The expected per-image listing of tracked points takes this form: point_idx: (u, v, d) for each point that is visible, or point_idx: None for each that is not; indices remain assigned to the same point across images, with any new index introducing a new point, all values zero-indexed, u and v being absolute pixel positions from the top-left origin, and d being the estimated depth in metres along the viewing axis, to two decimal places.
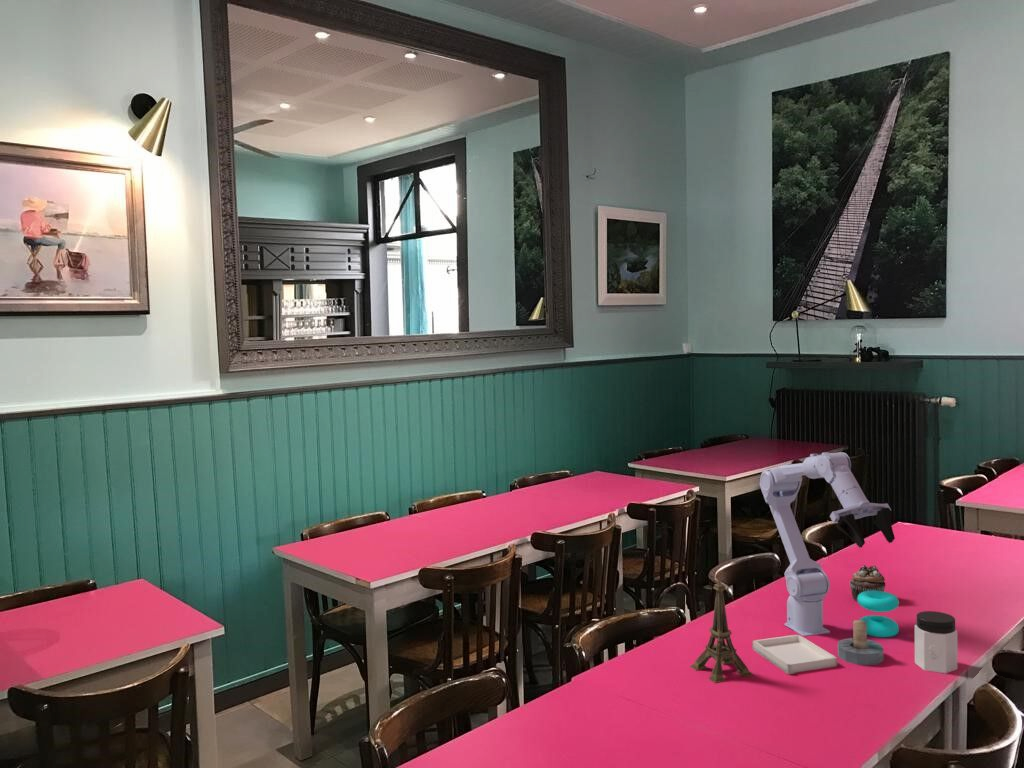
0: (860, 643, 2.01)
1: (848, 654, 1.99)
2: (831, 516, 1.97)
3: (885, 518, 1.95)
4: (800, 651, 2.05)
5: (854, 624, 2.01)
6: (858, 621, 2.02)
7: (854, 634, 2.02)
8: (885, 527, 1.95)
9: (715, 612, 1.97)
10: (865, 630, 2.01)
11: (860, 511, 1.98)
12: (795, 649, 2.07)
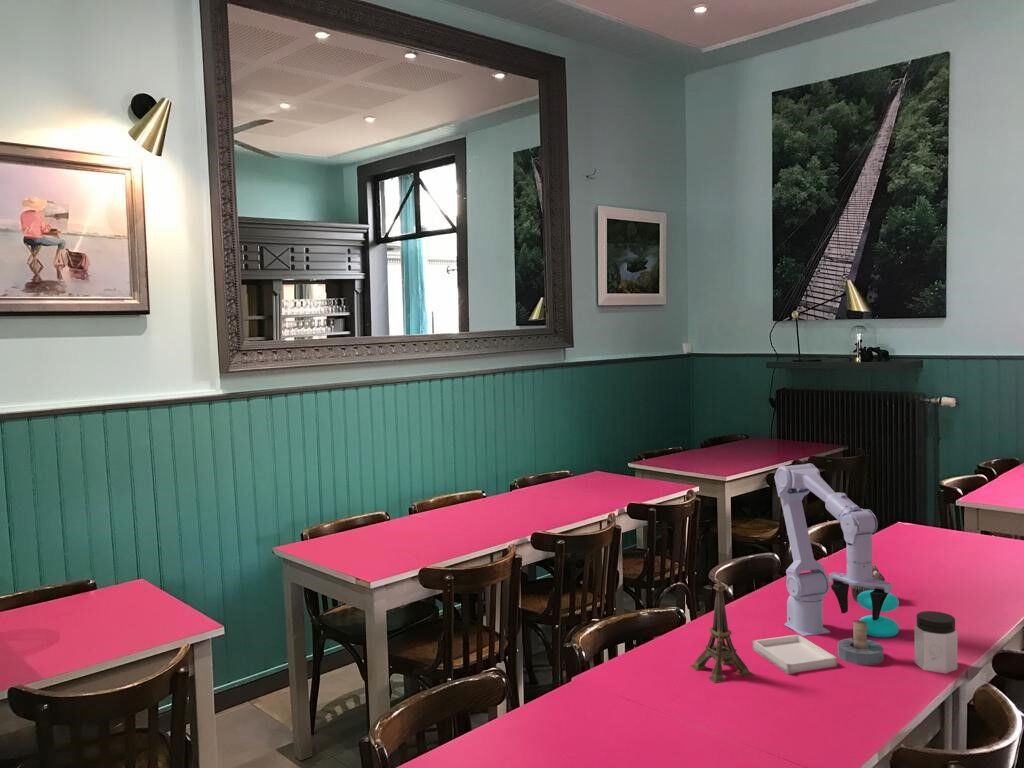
0: (860, 643, 2.01)
1: (848, 654, 1.99)
2: None
3: (872, 601, 1.97)
4: (800, 651, 2.05)
5: (854, 624, 2.01)
6: (858, 621, 2.02)
7: (854, 634, 2.02)
8: None
9: (715, 612, 1.97)
10: (865, 630, 2.01)
11: None
12: (795, 649, 2.07)
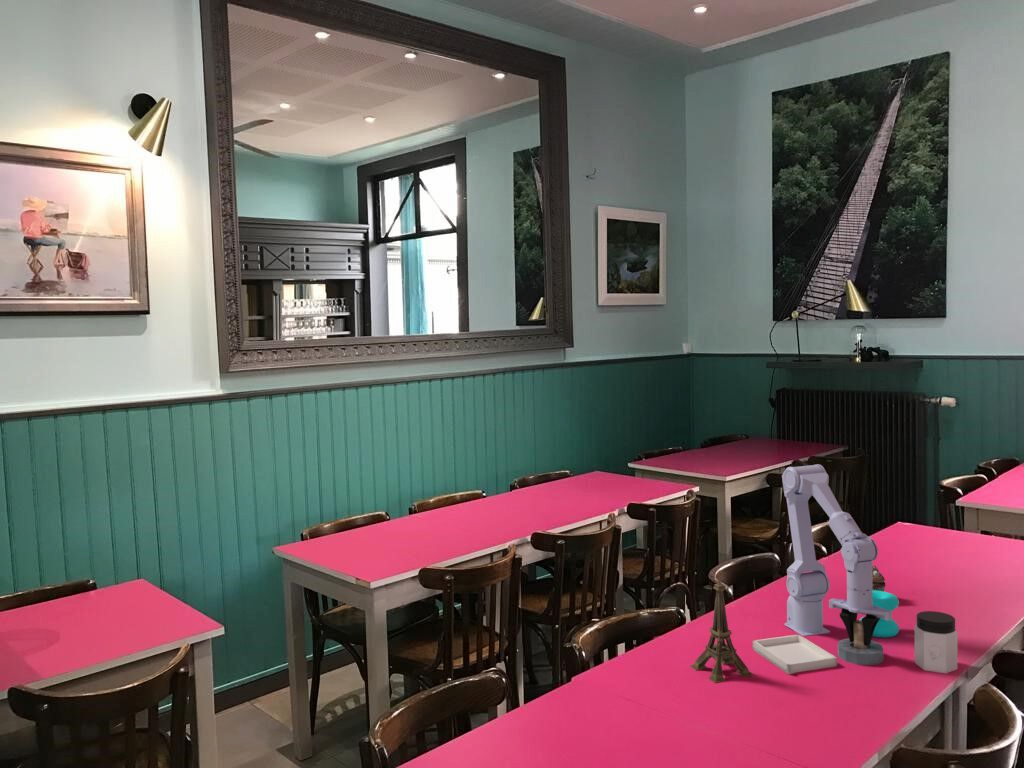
0: (860, 643, 2.01)
1: (848, 654, 1.99)
2: None
3: (864, 627, 1.99)
4: (800, 651, 2.05)
5: (854, 624, 2.01)
6: (858, 621, 2.02)
7: (854, 634, 2.02)
8: None
9: (715, 612, 1.97)
10: None
11: None
12: (795, 649, 2.07)
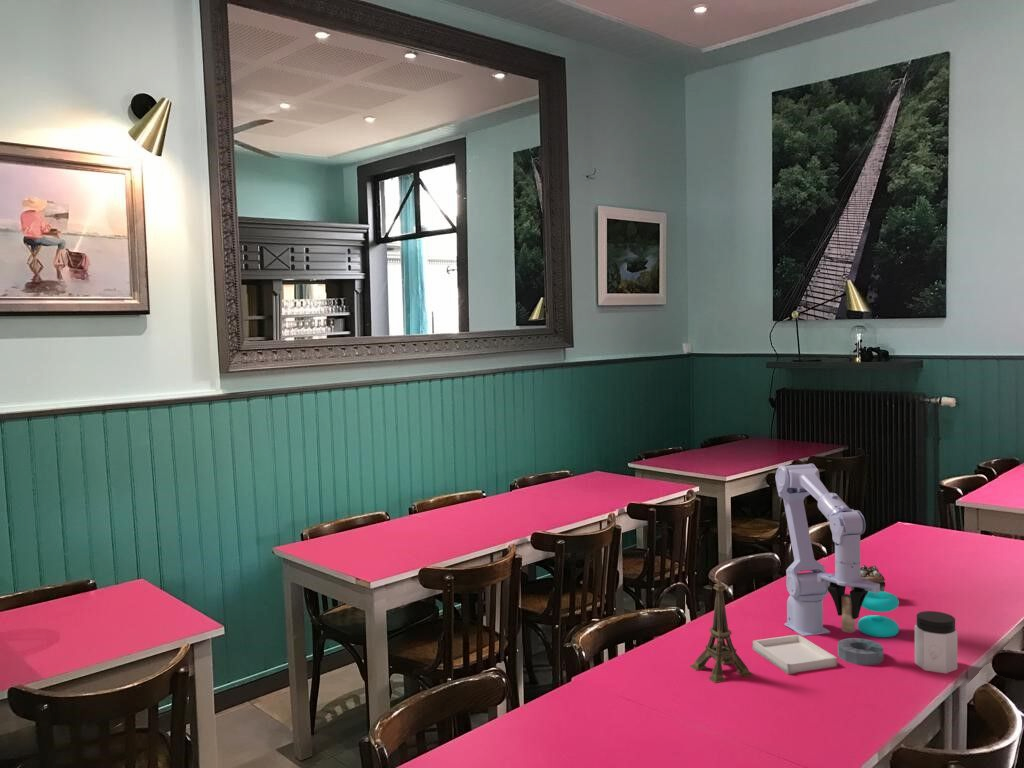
0: (849, 617, 2.00)
1: (848, 654, 1.99)
2: None
3: (852, 600, 1.99)
4: (800, 651, 2.05)
5: (842, 598, 2.01)
6: (846, 595, 2.02)
7: (842, 607, 2.01)
8: None
9: (715, 612, 1.97)
10: None
11: None
12: (795, 649, 2.07)
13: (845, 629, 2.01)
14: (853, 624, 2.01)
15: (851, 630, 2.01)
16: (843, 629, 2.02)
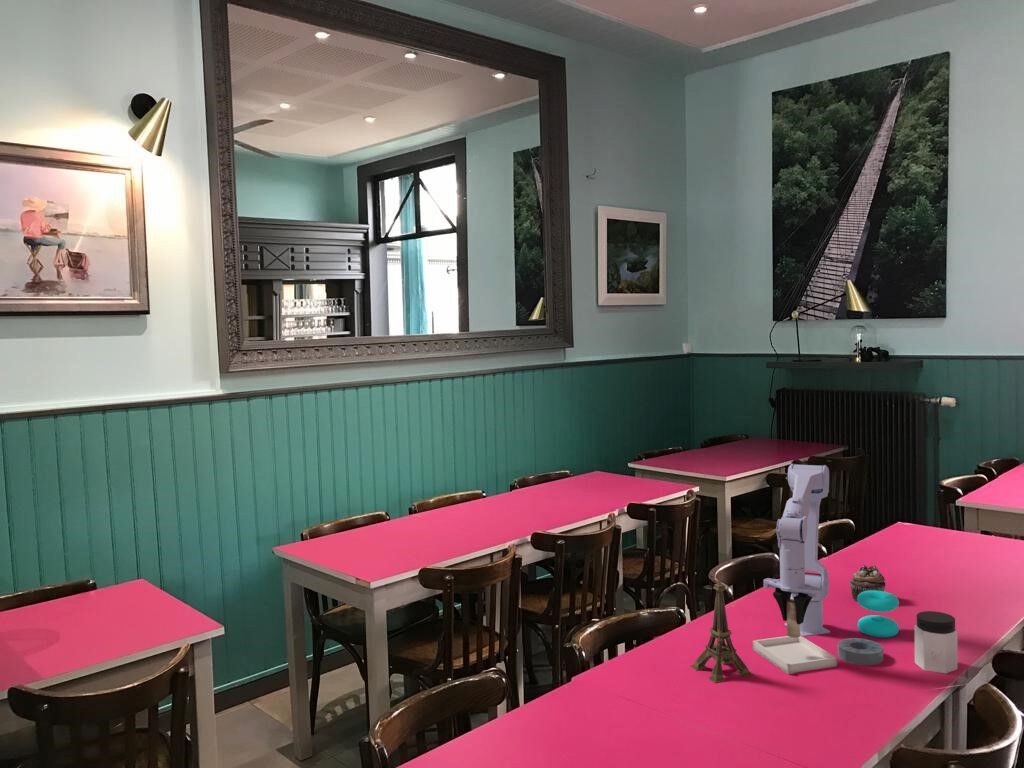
0: (793, 622, 2.02)
1: (848, 654, 1.99)
2: None
3: (796, 605, 2.00)
4: (800, 651, 2.05)
5: (787, 603, 2.03)
6: (791, 600, 2.03)
7: (787, 612, 2.03)
8: None
9: (715, 612, 1.97)
10: None
11: None
12: (795, 649, 2.07)
13: (789, 634, 2.02)
14: (797, 629, 2.02)
15: (795, 635, 2.02)
16: (788, 634, 2.03)
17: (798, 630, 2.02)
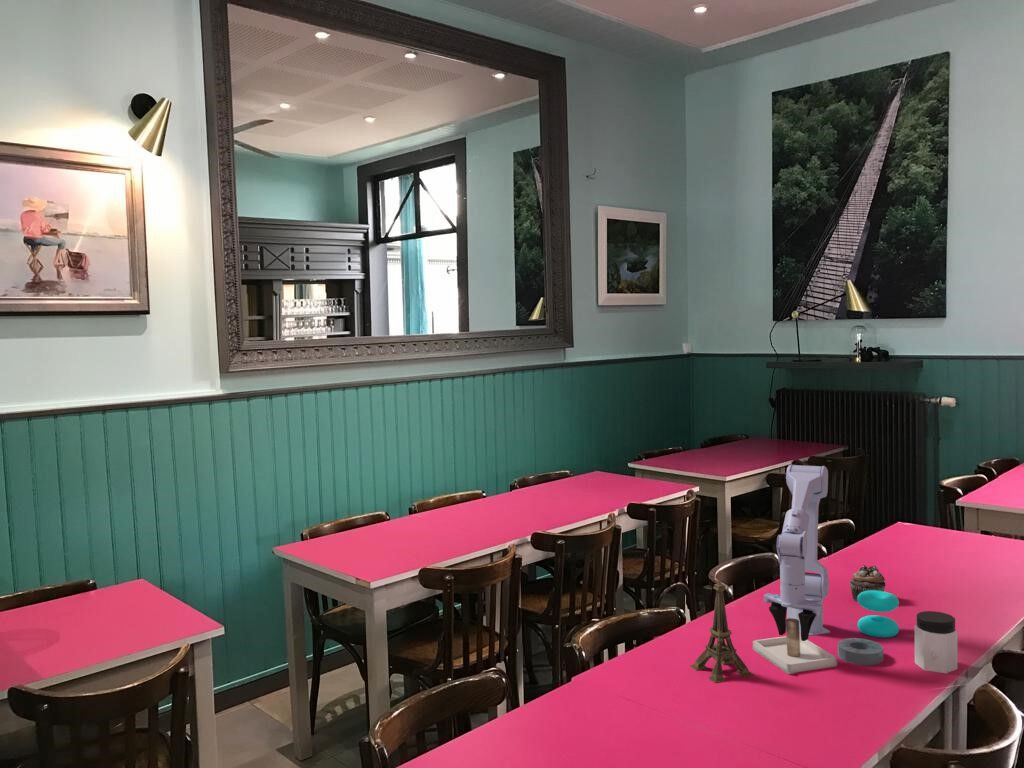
0: (792, 641, 2.02)
1: (848, 654, 1.99)
2: None
3: (800, 622, 1.99)
4: (800, 651, 2.05)
5: (786, 622, 2.03)
6: (791, 619, 2.04)
7: (786, 631, 2.03)
8: None
9: (715, 612, 1.97)
10: (797, 628, 2.02)
11: None
12: None
13: (789, 653, 2.03)
14: (797, 649, 2.02)
15: (795, 654, 2.02)
16: (788, 653, 2.03)
17: (798, 649, 2.02)
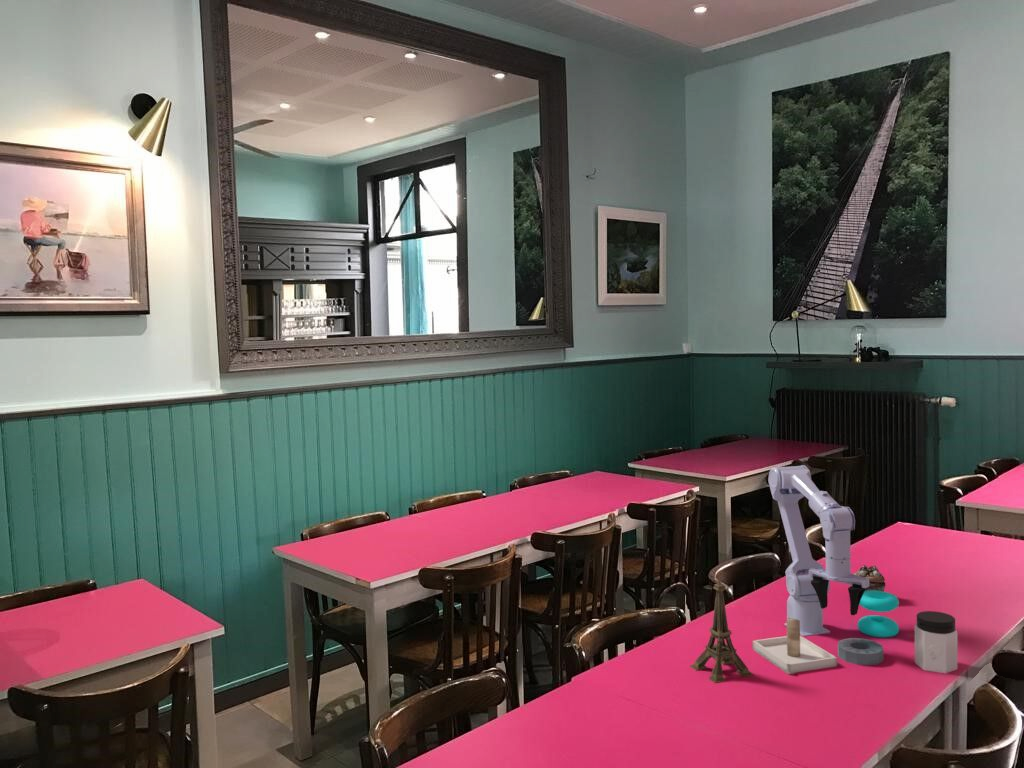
0: (793, 641, 2.02)
1: (848, 654, 1.99)
2: None
3: (850, 596, 2.01)
4: (800, 651, 2.05)
5: (787, 622, 2.03)
6: (792, 619, 2.04)
7: (787, 632, 2.03)
8: None
9: (715, 612, 1.97)
10: (797, 628, 2.02)
11: None
12: None
13: (790, 654, 2.03)
14: (797, 649, 2.02)
15: (795, 655, 2.02)
16: (788, 653, 2.03)
17: (798, 650, 2.02)
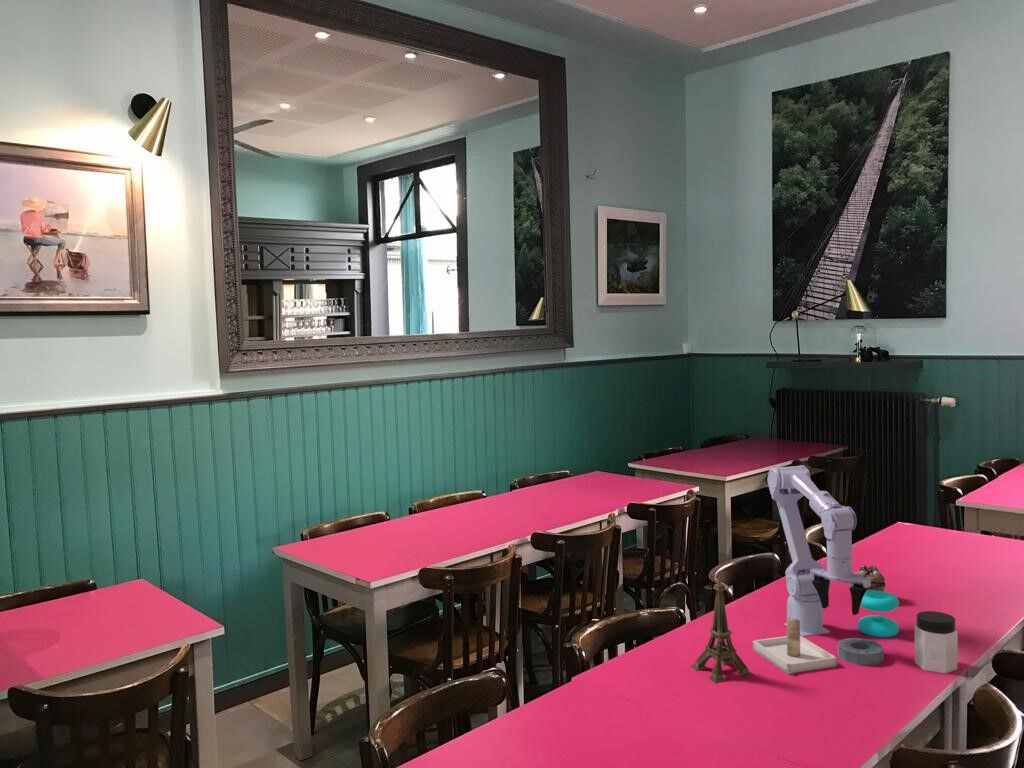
0: (793, 641, 2.02)
1: (848, 654, 1.99)
2: None
3: (852, 596, 2.01)
4: (800, 651, 2.05)
5: (787, 622, 2.03)
6: (792, 619, 2.04)
7: (787, 632, 2.03)
8: None
9: (715, 612, 1.97)
10: (797, 628, 2.02)
11: None
12: None
13: (789, 654, 2.03)
14: (797, 649, 2.02)
15: (795, 655, 2.02)
16: (788, 653, 2.03)
17: (798, 650, 2.02)
